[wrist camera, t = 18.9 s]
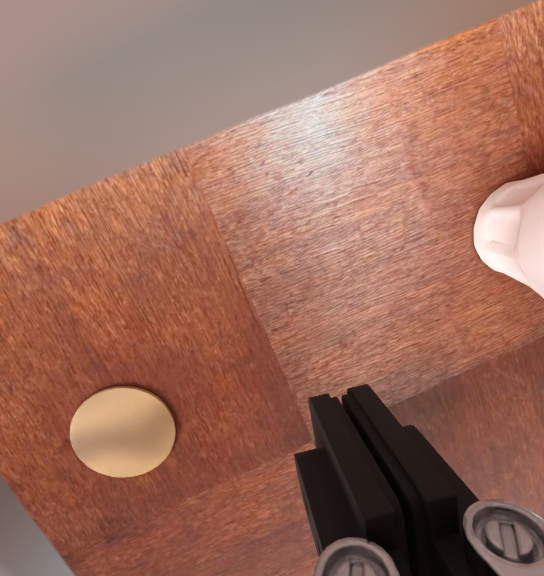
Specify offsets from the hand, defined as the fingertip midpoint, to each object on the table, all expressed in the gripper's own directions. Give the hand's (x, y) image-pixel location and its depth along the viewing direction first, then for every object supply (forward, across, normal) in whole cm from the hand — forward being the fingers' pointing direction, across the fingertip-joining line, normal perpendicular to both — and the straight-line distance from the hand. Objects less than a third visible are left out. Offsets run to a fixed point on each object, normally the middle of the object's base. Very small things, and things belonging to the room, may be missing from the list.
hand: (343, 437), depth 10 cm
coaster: (+22, +15, +11) cm, 29 cm away
